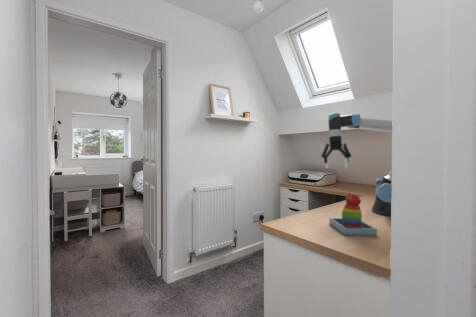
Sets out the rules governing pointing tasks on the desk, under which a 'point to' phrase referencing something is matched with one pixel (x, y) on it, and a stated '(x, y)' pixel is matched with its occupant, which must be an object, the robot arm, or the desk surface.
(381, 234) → the desk surface
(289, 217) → the desk surface
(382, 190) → the robot arm
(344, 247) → the desk surface
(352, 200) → the stacking bear
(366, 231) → the blue-grey square tray
